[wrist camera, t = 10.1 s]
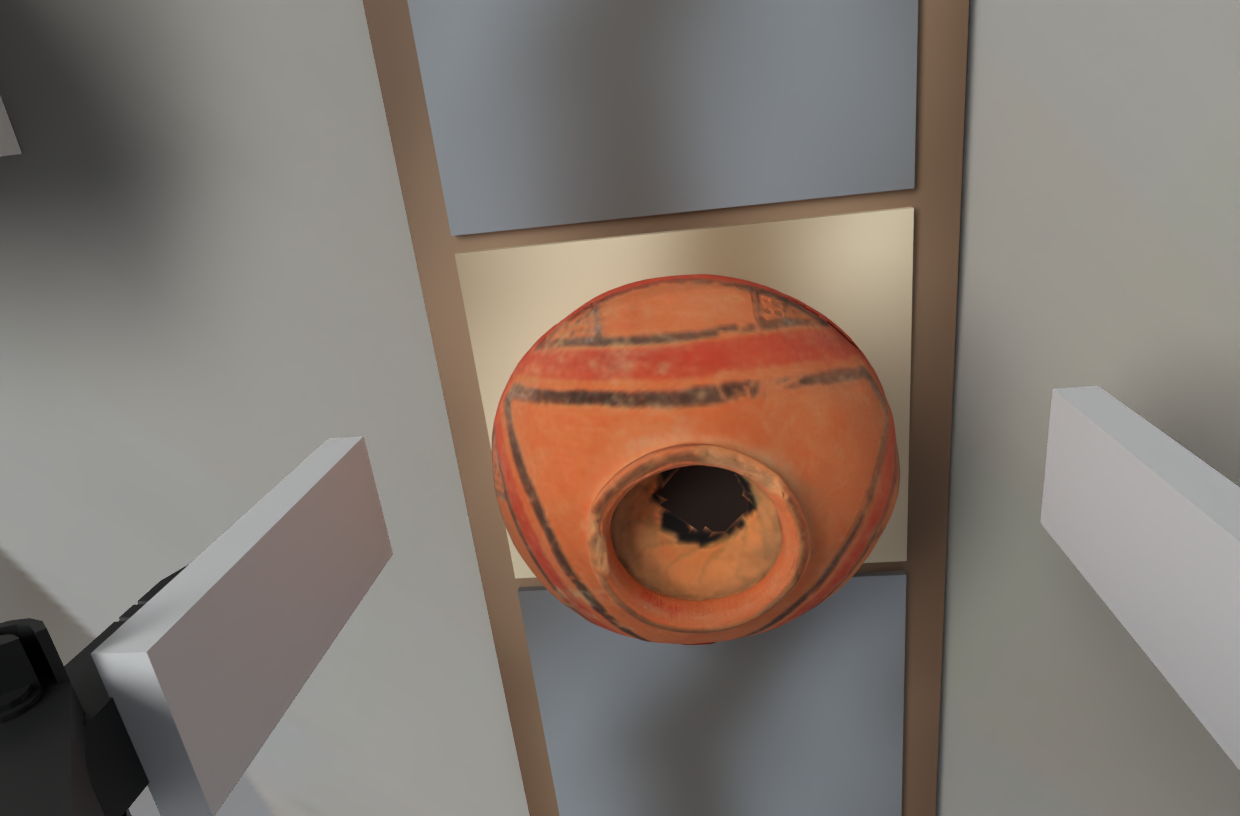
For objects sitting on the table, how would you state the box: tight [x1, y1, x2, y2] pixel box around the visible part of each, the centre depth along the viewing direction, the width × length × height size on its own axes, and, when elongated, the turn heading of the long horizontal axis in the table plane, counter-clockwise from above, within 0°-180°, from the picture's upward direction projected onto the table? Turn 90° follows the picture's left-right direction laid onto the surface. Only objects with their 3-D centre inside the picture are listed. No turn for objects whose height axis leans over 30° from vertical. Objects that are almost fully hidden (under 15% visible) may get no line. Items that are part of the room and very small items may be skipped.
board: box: [363, 0, 969, 816], centre depth 17 cm, size 12×37×1 cm, turn 6°
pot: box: [491, 274, 900, 645], centre depth 16 cm, size 8×8×7 cm
